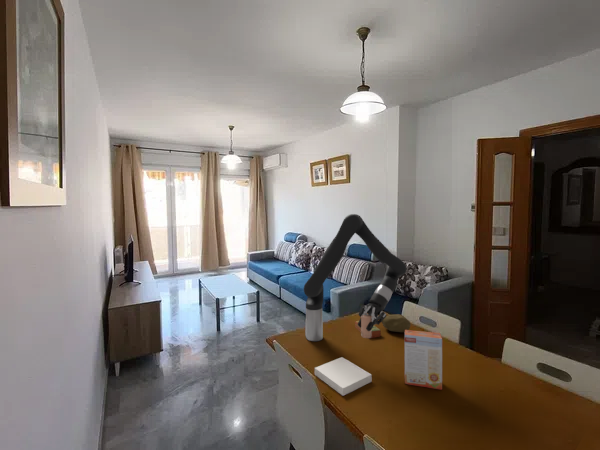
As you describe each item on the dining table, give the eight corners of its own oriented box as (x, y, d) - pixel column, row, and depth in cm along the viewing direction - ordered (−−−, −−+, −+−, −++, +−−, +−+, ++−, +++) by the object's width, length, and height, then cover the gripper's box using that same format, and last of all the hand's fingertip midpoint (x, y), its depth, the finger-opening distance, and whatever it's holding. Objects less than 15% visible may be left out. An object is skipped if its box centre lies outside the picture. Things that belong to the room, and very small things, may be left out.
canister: (359, 335, 135) (359, 316, 135) (366, 332, 138) (365, 314, 137) (366, 339, 131) (366, 319, 131) (373, 336, 134) (373, 317, 133)
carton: (367, 326, 181) (367, 319, 180) (381, 337, 165) (381, 329, 165) (354, 327, 178) (354, 320, 178) (367, 339, 163) (367, 331, 163)
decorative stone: (377, 331, 172) (377, 314, 171) (383, 325, 181) (383, 309, 181) (407, 338, 162) (407, 320, 162) (412, 331, 172) (412, 314, 171)
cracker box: (440, 382, 122) (440, 332, 120) (442, 390, 116) (442, 338, 115) (404, 376, 126) (404, 328, 125) (404, 384, 120) (404, 334, 119)
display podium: (314, 374, 128) (314, 367, 128) (341, 363, 137) (341, 356, 137) (343, 395, 114) (342, 388, 113) (371, 381, 123) (371, 374, 122)
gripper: (365, 289, 144) (347, 319, 137) (389, 296, 132) (371, 329, 126) (373, 297, 147) (356, 327, 141) (397, 305, 135) (379, 338, 129)
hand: (363, 328), depth 133 cm, fingers closed on canister, 4 cm apart
